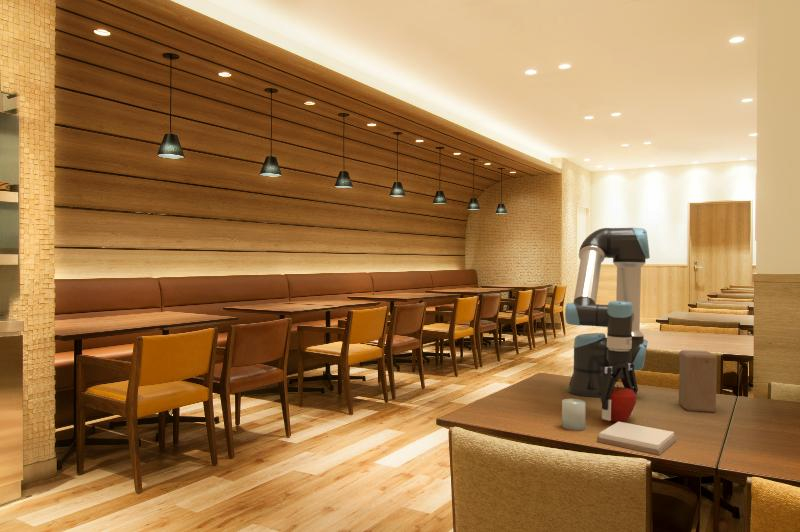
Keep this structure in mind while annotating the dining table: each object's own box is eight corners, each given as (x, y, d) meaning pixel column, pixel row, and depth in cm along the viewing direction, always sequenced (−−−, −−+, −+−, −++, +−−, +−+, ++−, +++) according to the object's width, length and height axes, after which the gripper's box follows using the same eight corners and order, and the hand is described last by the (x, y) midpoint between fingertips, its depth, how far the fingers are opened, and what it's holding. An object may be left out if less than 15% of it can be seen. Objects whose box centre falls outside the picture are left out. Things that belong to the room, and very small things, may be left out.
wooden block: (716, 413, 201) (718, 355, 201) (685, 411, 203) (686, 353, 203) (707, 405, 211) (708, 350, 211) (677, 404, 213) (679, 349, 213)
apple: (616, 428, 181) (617, 389, 181) (592, 419, 191) (593, 382, 191) (643, 424, 185) (644, 386, 185) (618, 416, 195) (619, 380, 195)
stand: (596, 441, 167) (596, 433, 167) (617, 428, 180) (617, 420, 180) (659, 455, 156) (659, 445, 156) (676, 440, 169) (676, 431, 169)
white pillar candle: (557, 426, 182) (557, 400, 182) (571, 422, 186) (571, 397, 186) (576, 431, 176) (576, 405, 176) (590, 427, 181) (590, 402, 181)
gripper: (607, 354, 178) (605, 425, 178) (650, 348, 192) (649, 414, 192) (586, 350, 184) (584, 419, 184) (629, 345, 198) (628, 409, 198)
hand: (617, 416), depth 188 cm, fingers closed on apple, 11 cm apart
